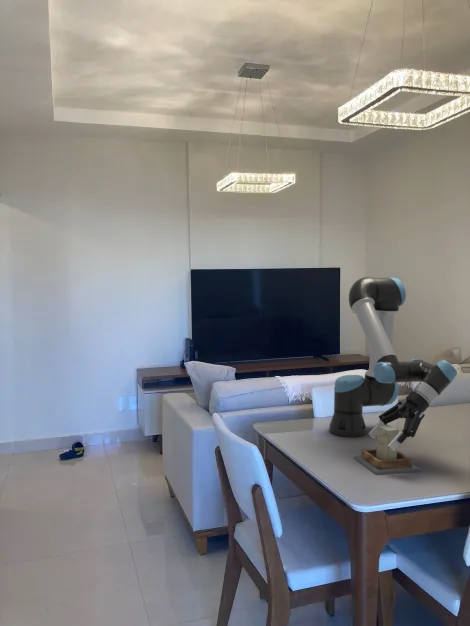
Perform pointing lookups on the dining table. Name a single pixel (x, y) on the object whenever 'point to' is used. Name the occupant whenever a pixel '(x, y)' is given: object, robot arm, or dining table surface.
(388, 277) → the robot arm
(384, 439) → the skincare box
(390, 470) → the slate tray
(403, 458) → the walnut collar
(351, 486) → the dining table surface
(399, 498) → the dining table surface
